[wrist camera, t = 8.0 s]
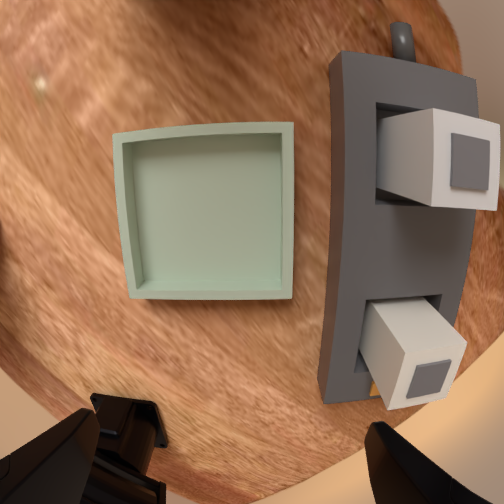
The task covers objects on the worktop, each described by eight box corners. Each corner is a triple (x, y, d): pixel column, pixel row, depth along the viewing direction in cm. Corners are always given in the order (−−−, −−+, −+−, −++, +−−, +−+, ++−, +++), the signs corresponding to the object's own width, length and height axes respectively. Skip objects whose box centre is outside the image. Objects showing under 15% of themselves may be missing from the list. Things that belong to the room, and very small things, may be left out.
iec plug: (404, 338, 21) (447, 400, 14) (356, 343, 21) (388, 412, 14) (415, 289, 20) (469, 344, 13) (364, 292, 20) (406, 355, 13)
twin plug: (427, 189, 18) (499, 211, 11) (372, 186, 18) (433, 207, 11) (428, 128, 16) (502, 124, 10) (373, 120, 17) (435, 107, 10)
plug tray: (288, 285, 20) (291, 298, 18) (139, 285, 21) (129, 298, 19) (289, 125, 17) (293, 121, 15) (125, 135, 18) (112, 134, 16)
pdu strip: (418, 366, 23) (434, 390, 19) (317, 378, 23) (324, 406, 20) (446, 47, 15) (472, 36, 12) (325, 23, 15) (337, 2, 12)
